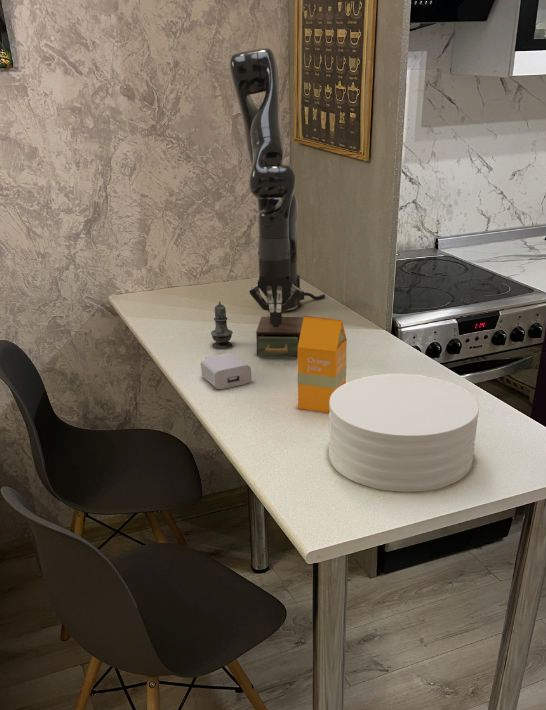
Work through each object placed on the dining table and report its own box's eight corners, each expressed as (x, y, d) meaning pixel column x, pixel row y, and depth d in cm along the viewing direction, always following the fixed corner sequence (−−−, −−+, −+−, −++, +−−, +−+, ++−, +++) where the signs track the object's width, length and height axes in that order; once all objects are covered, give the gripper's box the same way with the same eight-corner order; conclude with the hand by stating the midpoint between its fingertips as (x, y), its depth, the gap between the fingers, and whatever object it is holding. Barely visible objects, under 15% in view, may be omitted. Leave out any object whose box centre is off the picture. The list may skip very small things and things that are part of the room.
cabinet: (300, 356, 195) (300, 332, 192) (257, 355, 196) (256, 331, 193) (303, 339, 206) (303, 316, 203) (262, 339, 207) (261, 316, 204)
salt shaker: (232, 349, 200) (229, 304, 194) (210, 349, 201) (207, 305, 194) (234, 341, 205) (231, 298, 199) (212, 341, 206) (209, 298, 200)
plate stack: (405, 509, 131) (410, 451, 126) (299, 453, 150) (299, 400, 144) (501, 457, 147) (509, 403, 141) (395, 412, 165) (398, 363, 160)
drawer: (296, 363, 189) (296, 345, 187) (256, 362, 190) (255, 344, 187) (300, 340, 203) (300, 323, 200) (263, 340, 204) (262, 323, 201)
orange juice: (335, 414, 165) (336, 326, 155) (297, 408, 168) (296, 321, 158) (345, 399, 171) (347, 314, 161) (309, 394, 174) (308, 310, 164)
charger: (226, 362, 192) (251, 382, 181) (192, 369, 188) (216, 390, 177) (225, 345, 190) (250, 364, 178) (191, 351, 186) (214, 371, 174)
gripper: (303, 251, 181) (303, 321, 190) (248, 251, 182) (251, 321, 191) (301, 259, 175) (301, 331, 184) (244, 259, 176) (247, 330, 184)
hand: (276, 326), depth 187 cm, fingers closed
